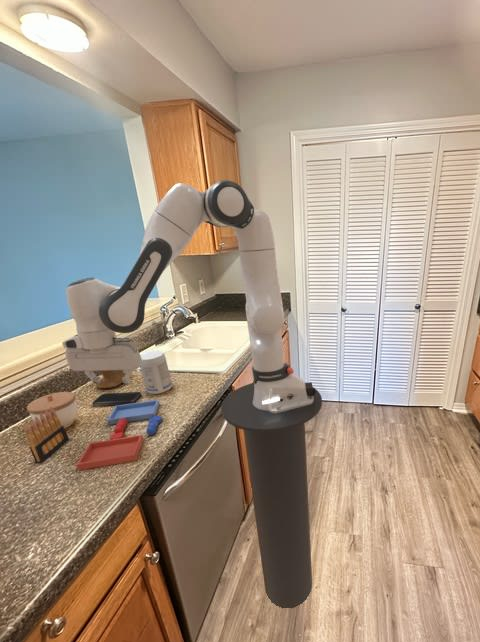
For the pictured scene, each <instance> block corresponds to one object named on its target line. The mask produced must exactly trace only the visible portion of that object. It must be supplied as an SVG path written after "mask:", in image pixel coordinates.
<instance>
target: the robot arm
mask: <svg viewBox="0 0 480 642" xmlns="http://www.w3.org/2000/svg"><path fill="white" fill-rule="evenodd" d="M203 223H206V224H208V225H211V226H214V227H218V228H230V229H232V230H233V232H234V234H235V236H236V238H237V245H238V254H239V255H238V256H239V261H240V262H239V263H240V270H241V277H242V282H243V288H244V295H245V301H246V302H245V315H246V324H247V331H248V335H249V337H248V338H249V344H250V351H251V360H252V366H251V374H252V381H253V383H254V397H253V405H254V406H255V407H256V408H258V409H261V410H265V411H269V412H271V413H274V414H276V413H280V412H284V411H288V410H291V409H295V408H299V407H303V406H306V405H310V404H312V403H313V401H314V397H313V396H314V395H315V393H316V390H317V389H316V388H315V387H314V386H313V383H312V382H305V381H304V380H303V378H301V377H300V376H298V375H296V374H294V369H293V368H292V367H291V365H290V364H288V362H287V361H286V362H285V354H284V352H285V351H284V342H283V339H282V333H281V329H282V327H283V326H284V322H285V313H284V305H283V299H282V291H281V287H280V282H279V275H278V265H277V256H276V255H277V254H276V253H277V252H276V243H275V236H274V232H273V231H274V230H273V228H272V227H273V226H272V223H271V219H270V217H269V214H268V213H266V212H265V211H264V210H261V209H259V208H255V207H254V205H253V204H252V202H251V200H250V199H249V197H248V195H247V193H246V192H245V190H244V188H243V187H242V186H240V184H238V183H237V182H235V181H232V180H228V179H223V180H219V181H217V182H215V183H214V184H212V185H211V186H209V187H208V188H207V189H206V190H205V191H199V190H198V189H196V188H195V187H194V186H191V184H187V183H183V182H178V183H176V184H174V185H172V187H171V188H170V189H169V190H168V191H167V192H166V193H165V194H164V196H163V197H162V198H161V199H160V201H159V203H158V204H157V205H156V206H155V209H154V211H153V212H152V214H151V215H150V218H149V219H148V222H147V225H146V227H145V230H144V233H143V238H142V243H141V248H140V252H139V255H138V257H137V259H136V262H135V264H134V265H133V267H132V268H131V270H130V271H129V273H128V275H127V277H126V278H125V280H124V282H123V283H122V284H121V286H118V285H115V284H111V283H107V282H104V281H102V280H100V279H98V278H97V277H86V278H81V279H78V280H76V281H72V282H71V283H70V284H68V286H66V288H65V296H66V301H67V305H68V309H69V312H70V315H71V318H72V319H73V320H74V322H75V326H76V333H77V334H75V335H73V336H71V337H69V338H67V339H65V340H64V341H62V342H61V343H62V346H63V349H66V350H65V352H64V354H65V358H66V362H67V365H68V367H69V369H71V370H72V371H73V372H84V374H85V376H87V377H88V378H89V379H90V381H91V383H92V385H95V384H99V383H100V382H101V377H100V376H98V375H96V374H95V372H96V371H97V372H100V371H102V370H123V372H124V373H126V374H125V376H124V377H123V378H122V381H123V382H122V383H123V384H130V383H131V382H132V379H131V375H132V372H133V371H136V370H138V369H140V366H141V365H142V359H141V356H140V355H141V353H140V351H139V349H138V344H137V342H136V341H135V340H134V339H132V338H130V337H117V334H116V333H119V334H130V333H133V332H135V331H138V330H139V329H140V328H141V326H142V325H143V323H144V320H145V312H146V311H145V310H146V304H147V301H148V298H149V297H150V295H151V293H152V292H153V289H154V288H155V286H156V285H157V283H158V282H159V279H160V278H161V276H162V274H163V273H164V271H165V270H166V269H167V268H168V267H169V266H171V264H172V263H173V262H174V261H175V260H176V259H177V258H178V257H179V256H180V255H181V254H182V253H183V251H184V250H185V249H186V248H187V246H189V244H190V242H191V241H192V240H193V237H194V236H195V233H196V232H197V230H198V229H199V228H200V226H201V225H202V224H203ZM313 387H314V388H315V389H316V390H315V389H314V388H313Z"/></svg>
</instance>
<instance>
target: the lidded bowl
mask: <svg viewBox="0 0 480 642" xmlns="http://www.w3.org/2000/svg"><path fill="white" fill-rule="evenodd" d="M76 399H77V398H76V395H75V393H74V392H71V391H58V392H53V393H50V394H46V395H43V396H41V397H39V398H36V399H34V400H32V401H31V402H29V403H28V404H27V406H26V410H27V412H28V413H29V415H30V418H31V420H32V421H33V422H34V423H35V417H37V418H38V419H39V420H40V413H42V414H43V415H44V417H45V418H46V416H45V410H47V411H48V412H49V414H50V407H52V408H53V409H54V411H55V413H56V415H57V417H58V418H59V420H60V423H61V425H62V426H63V427H64V429H66V428H68V427H70V426H72V425H73V424H74V421H75V420H76V418H77V417H78V413H79V407H78V402H77V400H76ZM50 415H51V414H50ZM46 420H47V419H46ZM40 422H41V420H40ZM41 424H42V422H41Z"/></svg>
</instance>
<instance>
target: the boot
mask: <svg viewBox="0 0 480 642" xmlns="http://www.w3.org/2000/svg"><path fill="white" fill-rule="evenodd" d="M99 372H100V373H101V375H102V378H100V380H101V382H100V383H99V384H94V385H95V387H96V388H98V389H111V388H115V387H118V386H119V385H121V384H122V383H123V381H122V378H123V377H124V376H125V374H126V373H124V372H123V370H102V371H99Z"/></svg>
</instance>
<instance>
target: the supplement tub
mask: <svg viewBox="0 0 480 642" xmlns="http://www.w3.org/2000/svg"><path fill="white" fill-rule="evenodd" d="M140 356H141V359H142V365H141V366H140V367H139V369H140V373H141V376H142V379H143V383H144V386H145V390H146V392H147V393H148V394H150V395H158V394H163V393H166V392H167V391H169V390H170V389H172V386H173V382H172V378H171V374H170V370H169V366H168V362H167V358H166V355H165V352H164V351H162V350H151V351H146V352H143V353H140Z"/></svg>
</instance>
